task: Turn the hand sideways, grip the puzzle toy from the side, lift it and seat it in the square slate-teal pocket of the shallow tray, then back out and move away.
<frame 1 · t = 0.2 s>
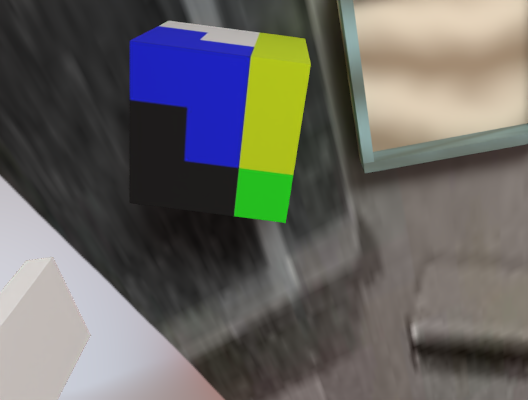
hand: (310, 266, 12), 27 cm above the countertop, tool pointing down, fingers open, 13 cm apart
puzzle toy: (231, 96, 39), on the countertop
shallow tray: (442, 53, 36), on the countertop
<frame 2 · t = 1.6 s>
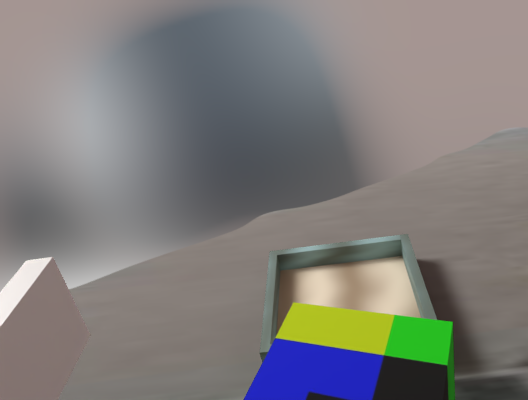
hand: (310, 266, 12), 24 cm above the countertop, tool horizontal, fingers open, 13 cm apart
shallow tray: (346, 312, 46), on the countertop
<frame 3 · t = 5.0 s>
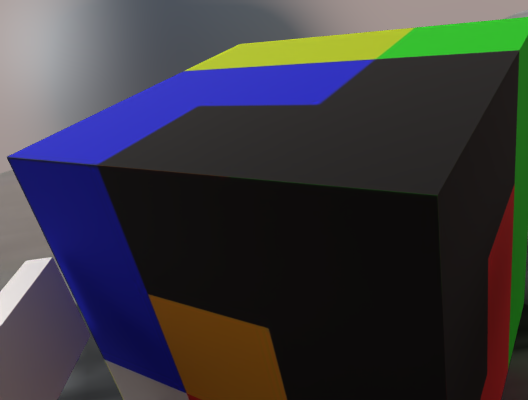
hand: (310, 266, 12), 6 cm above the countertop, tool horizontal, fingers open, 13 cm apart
puzzle toy: (340, 368, 17), on the countertop, touching gripper
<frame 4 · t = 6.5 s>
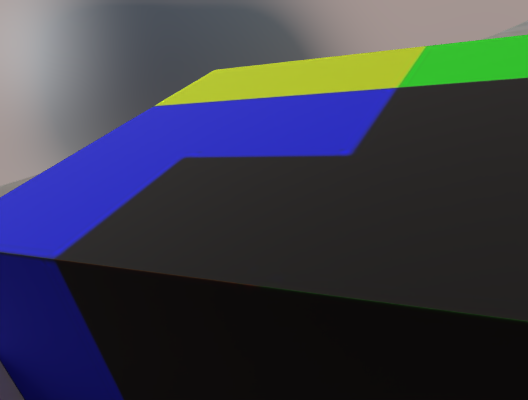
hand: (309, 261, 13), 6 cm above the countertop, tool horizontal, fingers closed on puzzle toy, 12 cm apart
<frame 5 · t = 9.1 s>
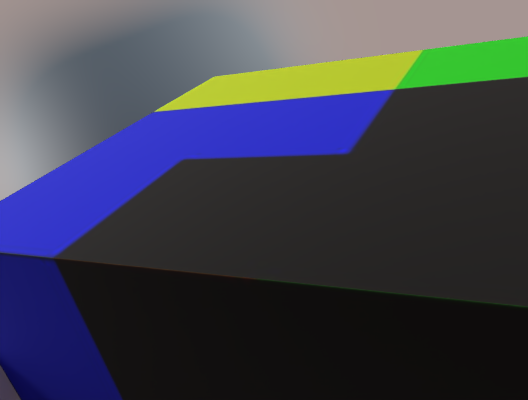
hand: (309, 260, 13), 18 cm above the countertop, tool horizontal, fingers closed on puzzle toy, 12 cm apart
when the fingers open (9 cm above the countertop, at t = 11.7 s): puzzle toy stays where it is, resting on shallow tray.
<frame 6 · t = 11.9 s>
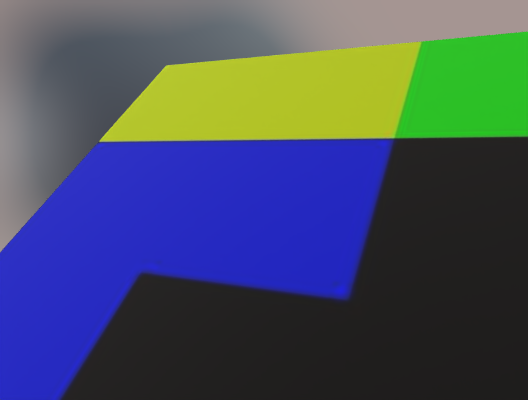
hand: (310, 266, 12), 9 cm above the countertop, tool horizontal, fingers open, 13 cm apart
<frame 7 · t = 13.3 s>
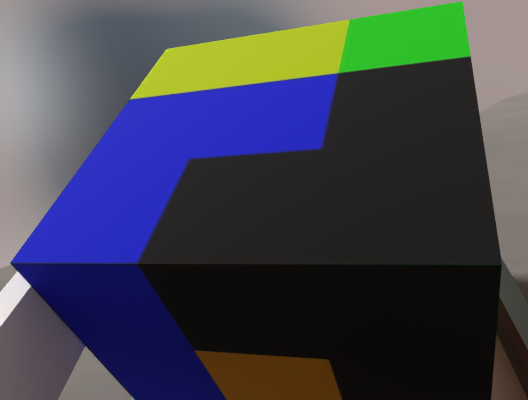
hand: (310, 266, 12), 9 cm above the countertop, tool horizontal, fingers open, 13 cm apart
puzzle toy: (333, 331, 19), point 2 cm above the countertop, touching shallow tray
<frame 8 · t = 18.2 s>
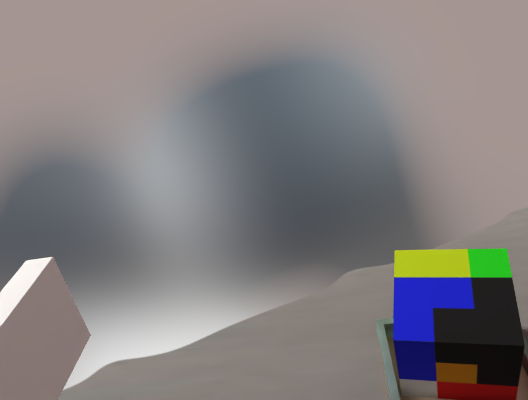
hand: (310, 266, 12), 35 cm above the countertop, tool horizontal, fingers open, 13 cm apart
puzzle toy: (453, 352, 50), point 2 cm above the countertop, touching shallow tray
shallow tray: (458, 383, 49), on the countertop
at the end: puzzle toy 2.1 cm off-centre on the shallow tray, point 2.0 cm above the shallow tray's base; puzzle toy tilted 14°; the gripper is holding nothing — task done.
